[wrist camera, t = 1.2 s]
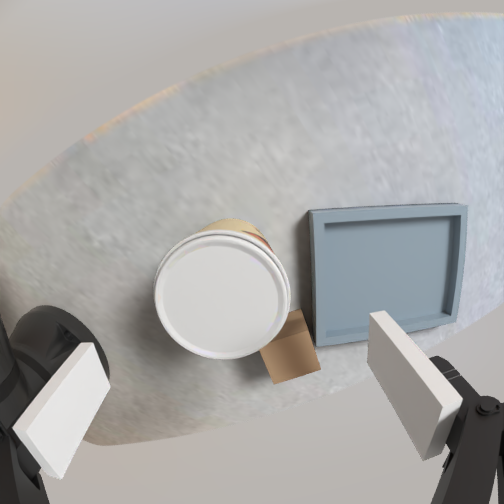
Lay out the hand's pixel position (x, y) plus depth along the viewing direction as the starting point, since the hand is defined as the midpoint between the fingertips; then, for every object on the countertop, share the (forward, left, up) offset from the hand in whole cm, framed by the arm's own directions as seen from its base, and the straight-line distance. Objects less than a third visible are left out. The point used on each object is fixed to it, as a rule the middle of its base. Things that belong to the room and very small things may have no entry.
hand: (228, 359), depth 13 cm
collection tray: (+16, -3, -19) cm, 25 cm away
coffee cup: (-1, 0, -19) cm, 19 cm away
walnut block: (+4, -10, -19) cm, 21 cm away
